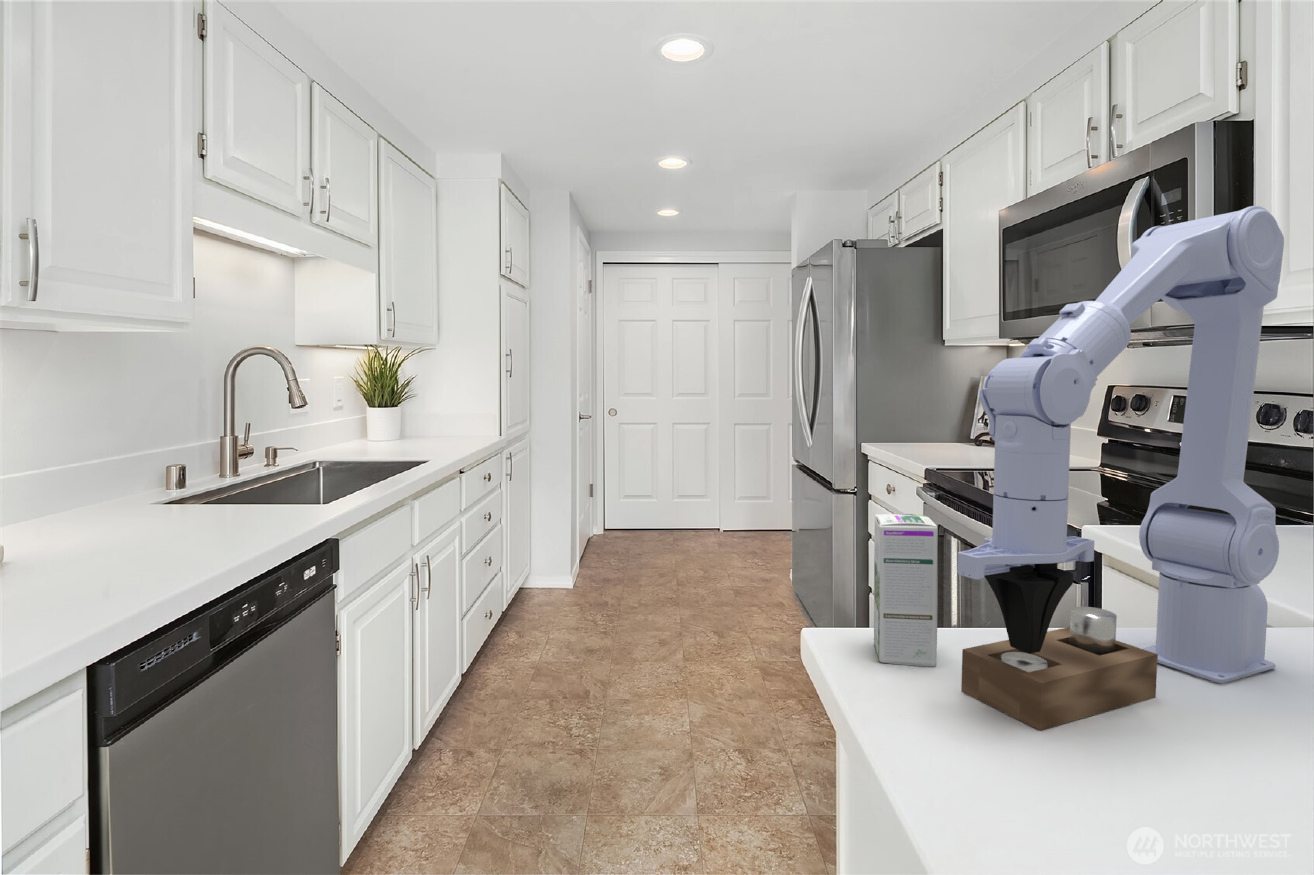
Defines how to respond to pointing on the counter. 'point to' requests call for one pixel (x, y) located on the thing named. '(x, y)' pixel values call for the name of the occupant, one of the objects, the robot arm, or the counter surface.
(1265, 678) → the counter surface
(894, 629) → the syrup box
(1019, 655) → the outer pin
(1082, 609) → the silver short cylinder
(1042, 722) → the walnut block
